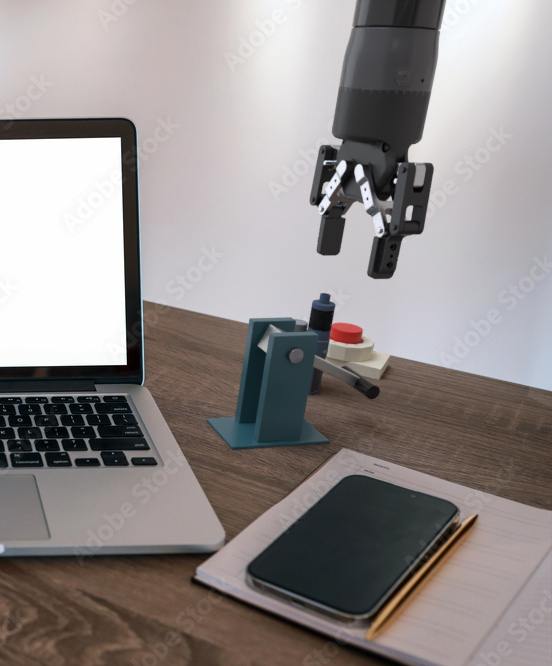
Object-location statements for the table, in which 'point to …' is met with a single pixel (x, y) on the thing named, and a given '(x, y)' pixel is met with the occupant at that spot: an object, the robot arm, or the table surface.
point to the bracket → (272, 390)
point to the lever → (333, 369)
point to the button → (346, 333)
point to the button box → (358, 357)
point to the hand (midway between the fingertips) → (351, 265)
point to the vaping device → (322, 326)
